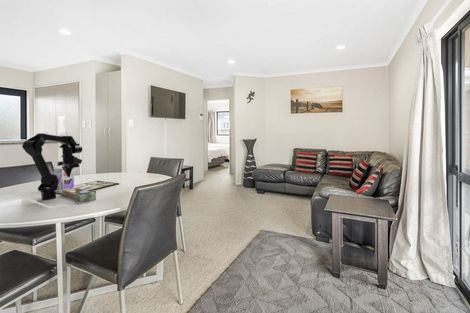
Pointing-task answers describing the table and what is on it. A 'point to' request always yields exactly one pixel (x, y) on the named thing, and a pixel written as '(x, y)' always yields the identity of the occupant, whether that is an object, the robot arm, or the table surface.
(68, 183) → the candy box
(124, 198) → the table surface
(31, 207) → the table surface
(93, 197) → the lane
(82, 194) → the block
